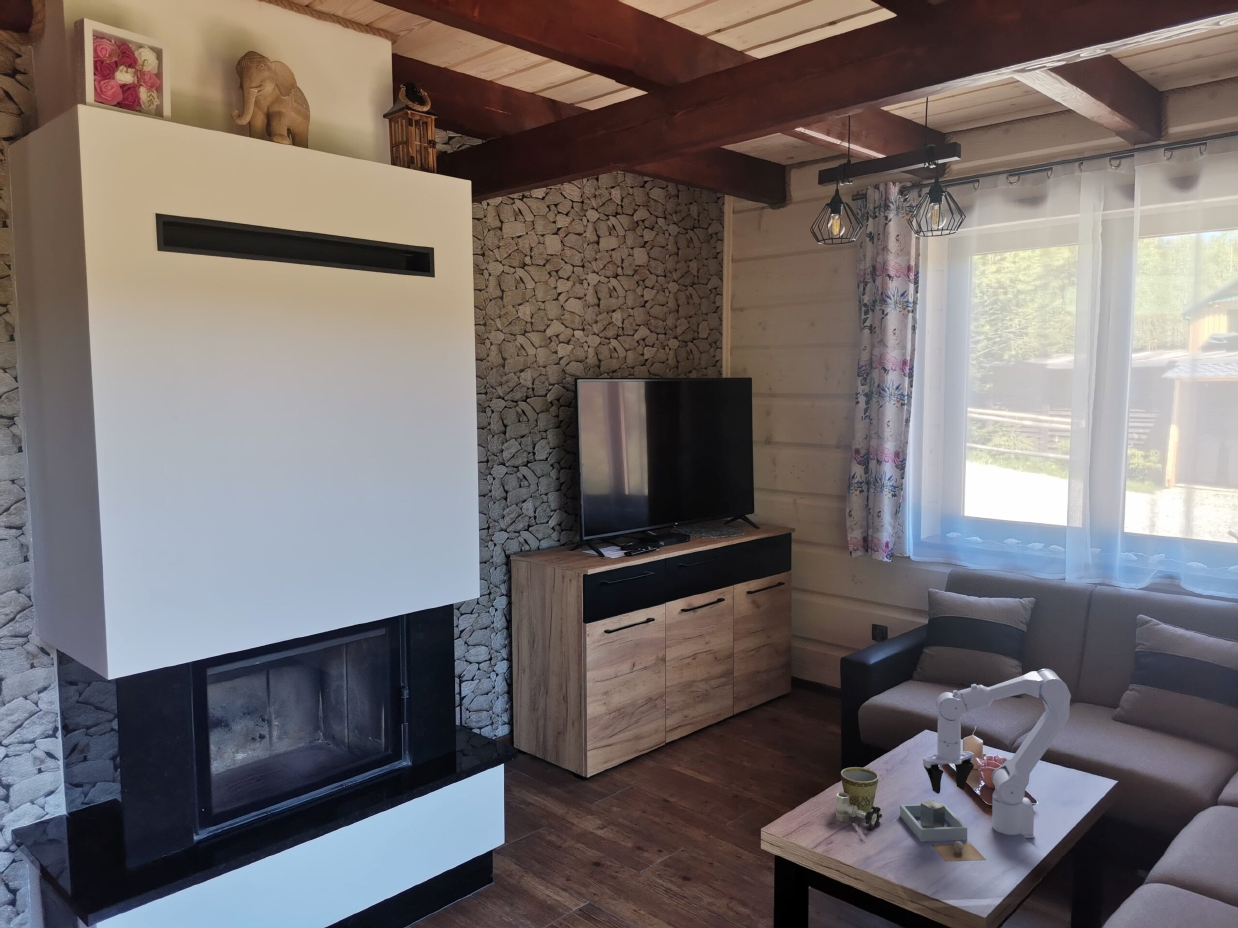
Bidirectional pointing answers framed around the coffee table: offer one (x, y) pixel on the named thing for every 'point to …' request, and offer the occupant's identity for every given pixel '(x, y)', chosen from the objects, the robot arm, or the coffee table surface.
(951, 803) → the coffee table surface
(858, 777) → the ceramic cup
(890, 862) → the coffee table surface
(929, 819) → the grey rectangular block
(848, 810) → the valve
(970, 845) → the stud block
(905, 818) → the bin
